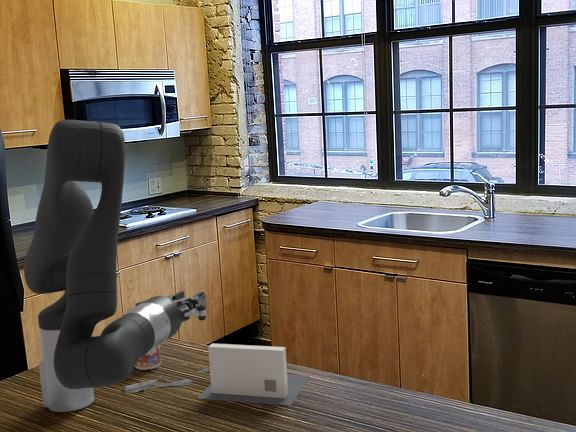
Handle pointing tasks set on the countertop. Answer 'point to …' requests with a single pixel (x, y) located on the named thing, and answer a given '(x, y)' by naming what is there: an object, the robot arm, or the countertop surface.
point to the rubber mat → (293, 390)
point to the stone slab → (146, 384)
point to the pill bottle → (149, 360)
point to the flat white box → (248, 370)
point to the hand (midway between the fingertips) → (192, 296)
